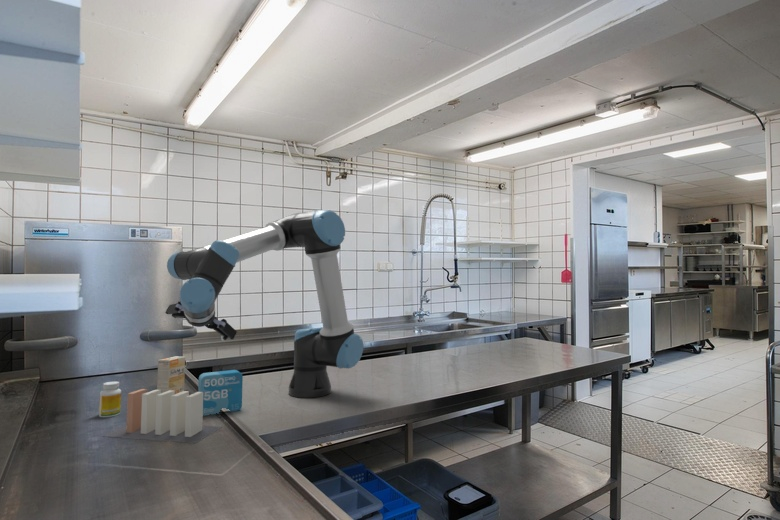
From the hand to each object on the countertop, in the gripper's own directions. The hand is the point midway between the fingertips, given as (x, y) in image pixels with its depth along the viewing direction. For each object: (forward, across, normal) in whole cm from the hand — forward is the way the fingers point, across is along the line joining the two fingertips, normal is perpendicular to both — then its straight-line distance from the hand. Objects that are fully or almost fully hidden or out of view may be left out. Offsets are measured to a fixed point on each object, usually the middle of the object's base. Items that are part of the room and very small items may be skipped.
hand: (202, 328), depth 130 cm
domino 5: (-10, +12, -28) cm, 32 cm away
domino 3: (-6, +5, -29) cm, 30 cm away
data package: (+8, +15, -20) cm, 26 cm away
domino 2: (-4, +1, -30) cm, 31 cm away
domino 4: (-8, +8, -28) cm, 31 cm away
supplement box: (+32, -3, -19) cm, 37 cm away
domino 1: (-2, -2, -31) cm, 31 cm away
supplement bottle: (+14, -13, -30) cm, 36 cm away
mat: (-6, +5, -30) cm, 31 cm away
